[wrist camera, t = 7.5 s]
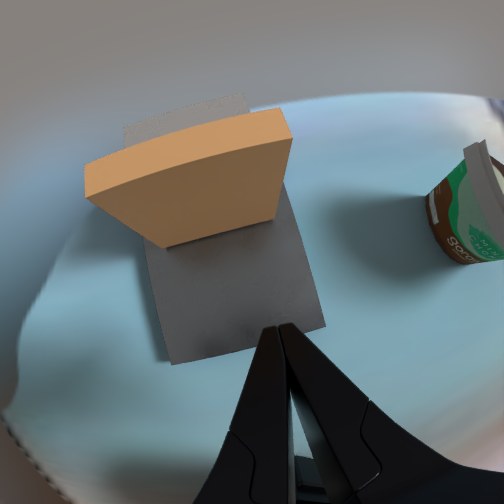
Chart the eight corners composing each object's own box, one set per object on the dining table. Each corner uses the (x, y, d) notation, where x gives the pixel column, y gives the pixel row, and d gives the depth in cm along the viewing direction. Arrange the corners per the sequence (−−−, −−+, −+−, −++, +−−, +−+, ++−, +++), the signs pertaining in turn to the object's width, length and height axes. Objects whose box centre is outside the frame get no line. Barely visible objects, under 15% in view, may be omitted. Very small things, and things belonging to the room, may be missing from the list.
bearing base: (321, 324, 20) (363, 337, 12) (176, 361, 20) (131, 393, 11) (269, 155, 22) (276, 84, 14) (141, 189, 22) (93, 137, 14)
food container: (404, 254, 21) (485, 222, 11) (412, 189, 22) (479, 135, 12) (493, 290, 20) (566, 278, 10) (497, 234, 21) (563, 207, 11)
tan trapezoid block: (274, 218, 19) (292, 137, 10) (162, 248, 19) (85, 197, 9) (250, 143, 20) (248, 40, 11) (149, 170, 20) (90, 87, 10)
